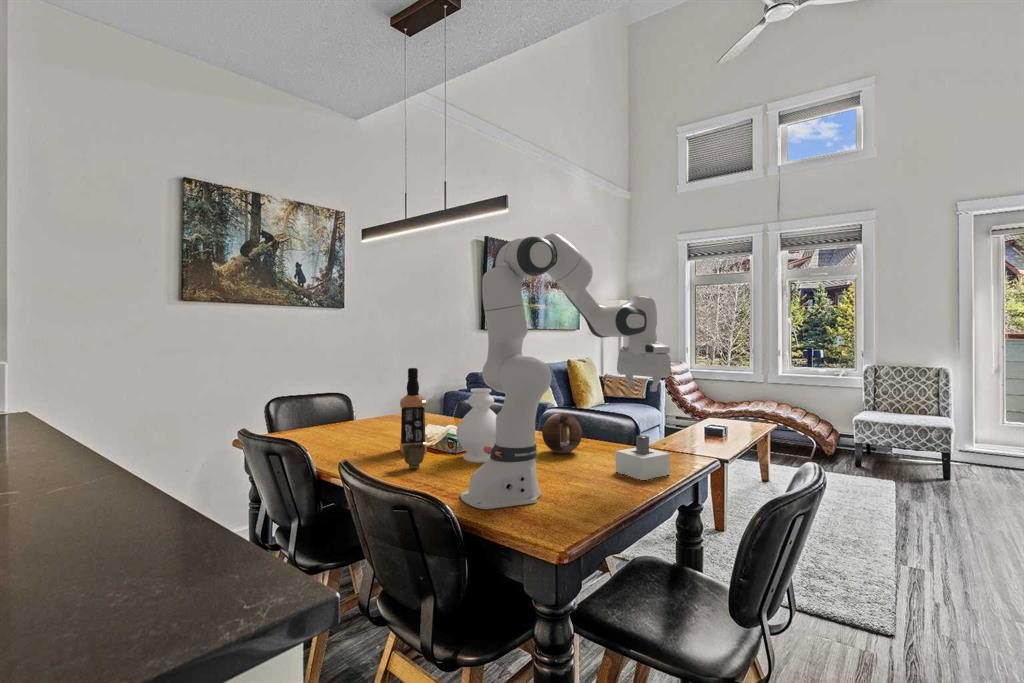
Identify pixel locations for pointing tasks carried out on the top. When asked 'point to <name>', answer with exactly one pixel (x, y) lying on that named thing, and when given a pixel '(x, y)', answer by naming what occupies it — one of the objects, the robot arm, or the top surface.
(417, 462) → the cup
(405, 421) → the whiskey bottle
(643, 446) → the steel pin
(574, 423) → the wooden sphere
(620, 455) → the block
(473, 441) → the decorative vase
